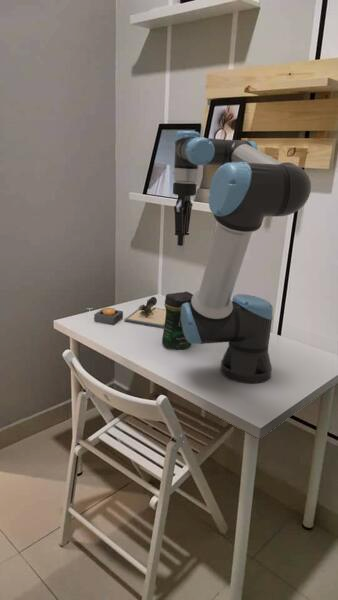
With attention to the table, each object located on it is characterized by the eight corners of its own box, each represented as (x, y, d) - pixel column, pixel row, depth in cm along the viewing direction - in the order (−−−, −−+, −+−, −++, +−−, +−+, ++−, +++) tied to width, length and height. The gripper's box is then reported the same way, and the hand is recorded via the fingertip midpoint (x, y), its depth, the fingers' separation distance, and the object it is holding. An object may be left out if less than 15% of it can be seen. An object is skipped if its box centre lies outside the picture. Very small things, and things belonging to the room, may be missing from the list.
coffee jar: (171, 352, 153) (174, 298, 148) (158, 343, 160) (161, 291, 154) (195, 347, 159) (199, 294, 153) (182, 339, 165) (185, 288, 159)
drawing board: (164, 328, 174) (164, 325, 173) (124, 321, 178) (124, 319, 178) (179, 314, 190) (179, 311, 190) (142, 308, 195) (142, 305, 194)
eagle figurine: (161, 315, 180) (161, 304, 188) (151, 301, 177) (151, 290, 185) (144, 324, 182) (144, 312, 190) (134, 310, 179) (135, 299, 187)
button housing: (113, 325, 174) (114, 317, 173) (94, 321, 177) (94, 314, 176) (122, 318, 181) (122, 311, 181) (103, 315, 184) (103, 308, 183)
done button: (111, 318, 176) (111, 312, 175) (100, 316, 177) (100, 310, 176) (116, 315, 180) (117, 308, 179) (105, 313, 181) (106, 307, 181)
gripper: (179, 180, 158) (176, 249, 165) (167, 182, 146) (163, 256, 154) (201, 182, 156) (196, 252, 163) (190, 184, 144) (185, 259, 151)
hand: (180, 254), depth 158 cm, fingers closed
